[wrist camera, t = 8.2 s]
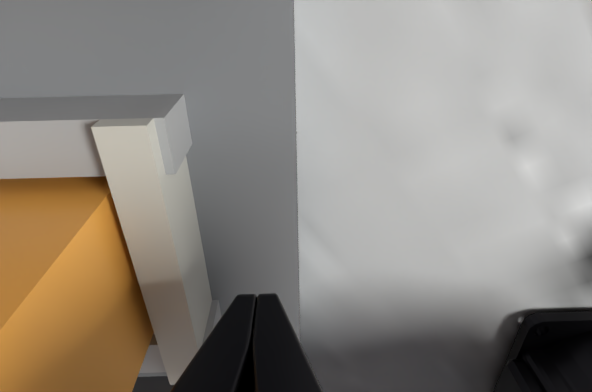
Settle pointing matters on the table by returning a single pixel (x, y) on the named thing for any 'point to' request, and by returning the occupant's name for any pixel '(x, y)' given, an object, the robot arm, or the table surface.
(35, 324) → the toggle
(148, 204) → the grey rectangular tray
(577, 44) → the table surface
